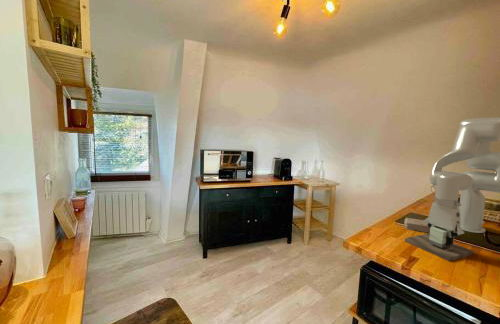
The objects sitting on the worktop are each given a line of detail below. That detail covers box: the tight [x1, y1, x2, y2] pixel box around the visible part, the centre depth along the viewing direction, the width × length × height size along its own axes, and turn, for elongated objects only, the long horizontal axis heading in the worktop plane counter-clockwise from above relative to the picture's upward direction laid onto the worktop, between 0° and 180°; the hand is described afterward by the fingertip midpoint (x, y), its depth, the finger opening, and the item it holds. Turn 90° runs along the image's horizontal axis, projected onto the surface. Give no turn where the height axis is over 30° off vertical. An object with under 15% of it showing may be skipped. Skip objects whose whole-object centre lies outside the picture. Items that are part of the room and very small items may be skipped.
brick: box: [403, 217, 430, 234], centre depth 119 cm, size 17×8×5 cm, turn 62°
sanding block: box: [429, 226, 456, 248], centre depth 99 cm, size 8×5×7 cm, turn 110°
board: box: [404, 232, 474, 262], centre depth 100 cm, size 16×18×2 cm
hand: (441, 241), depth 99 cm, fingers closed on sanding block, 5 cm apart
